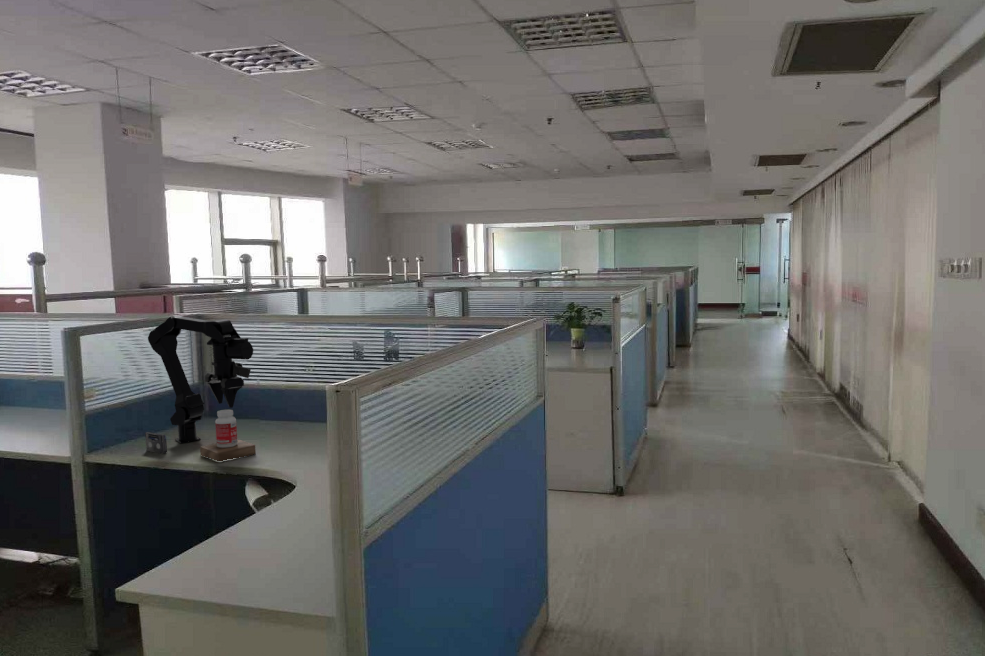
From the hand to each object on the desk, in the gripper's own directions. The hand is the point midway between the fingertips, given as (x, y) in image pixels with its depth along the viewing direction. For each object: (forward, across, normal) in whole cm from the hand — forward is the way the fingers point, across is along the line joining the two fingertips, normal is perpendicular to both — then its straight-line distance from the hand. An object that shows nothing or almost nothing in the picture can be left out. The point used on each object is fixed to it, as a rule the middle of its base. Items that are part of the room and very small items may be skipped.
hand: (225, 405), depth 238 cm
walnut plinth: (+13, -13, +5) cm, 19 cm away
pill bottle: (+10, -13, +5) cm, 17 cm away
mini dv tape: (+13, +8, +20) cm, 25 cm away
